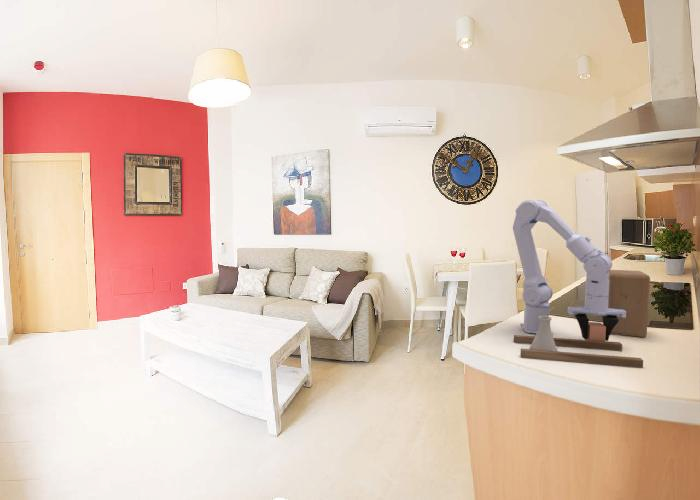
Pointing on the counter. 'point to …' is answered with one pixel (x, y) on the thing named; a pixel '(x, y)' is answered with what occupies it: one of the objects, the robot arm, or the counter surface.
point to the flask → (544, 336)
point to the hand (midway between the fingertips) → (594, 338)
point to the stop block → (596, 331)
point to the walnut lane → (579, 356)
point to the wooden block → (630, 301)
